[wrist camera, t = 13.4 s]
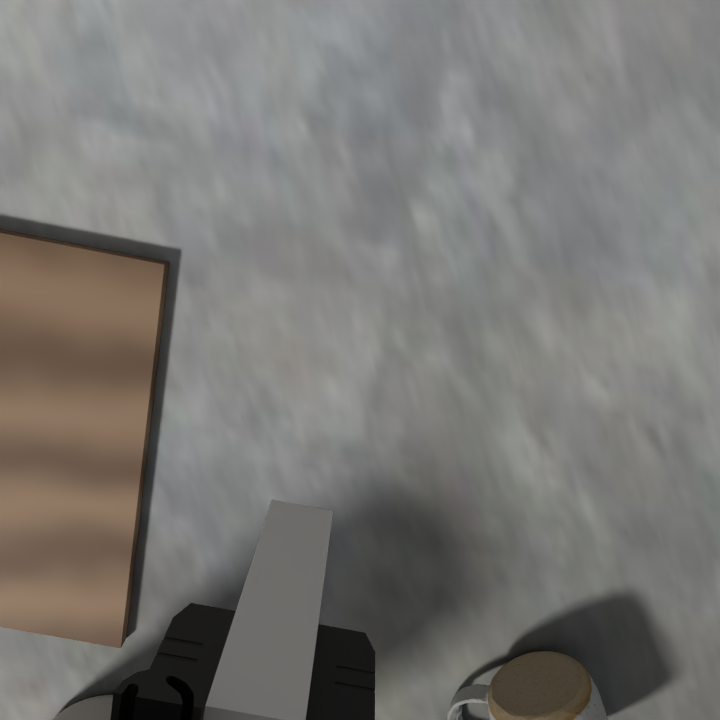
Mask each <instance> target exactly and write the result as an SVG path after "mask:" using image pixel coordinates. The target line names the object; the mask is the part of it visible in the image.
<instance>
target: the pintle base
mask: <svg viewBox="0 0 720 720" xmlns="http://www.w3.org/2000/svg"><path fill="white" fill-rule="evenodd" d="M168 271H169V262H165V261H160V260H154V259H149V258H144V257H139V256H134V255H129V254H124V253H118V252H113V251H108V250H103V249H98V248H93V247H87V246H82V245H77V244H72V243H67V242H62V241H56V240H51V239H46V238H41V237H36V236H31V235H25V234H20V233H15V232H10V231H5V230H0V627H6V628H11V629H17V630H22V631H28V632H34V633H39V634H45V635H50V636H56V637H61V638H67V639H73V640H78V641H84V642H89V643H95V644H101V645H106V646H112V647H117V648H121V647H122V645H123V643H124V641H125V639H126V633H127V625H128V616H129V608H130V599H131V590H132V582H133V573H134V564H135V556H136V547H137V538H138V530H139V521H140V513H141V504H142V495H143V487H144V478H145V469H146V461H147V452H148V443H149V435H150V426H151V417H152V409H153V400H154V392H155V383H156V374H157V366H158V357H159V348H160V340H161V331H162V322H163V314H164V305H165V297H166V288H167V279H168Z"/></svg>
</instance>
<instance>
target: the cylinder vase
mask: <svg viewBox="0 0 720 720" xmlns="http://www.w3.org/2000/svg"><path fill="white" fill-rule="evenodd" d="M112 701H113V695H102V696H96V697H91V698H88V699H85V700H82V701H79V702H77V703H75V704H73V705H71V706H69V707H68V708H66V709H64V710H63V711H62V712H60V713H59V714H58V715H57V716H56V717H55V718H54V719H53V720H110V718H111V710H112Z"/></svg>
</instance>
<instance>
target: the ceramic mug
mask: <svg viewBox="0 0 720 720" xmlns="http://www.w3.org/2000/svg"><path fill="white" fill-rule="evenodd" d="M475 702H476V703H486V704H488V708H489V716H490V720H608V718H607V715H606V712H605V709H604V705H603V702H602V699H601V697H600V694H599V691H598V689H597V687H596V685H595V683H594V681H593V680H592V678H591V676H590V674H589V673H588V671H587V670H586V669H585V668H584V666H583V665H582V664H581V663H579V662H578V661H577V660H575V659H574V658H572V657H570V656H568V655H565V654H563V653H558V652H552V651H539V652H531V653H526V654H524V655H521V656H519V657H516V658H514V659H513V660H511V661H509V662H508V663H506V664H505V665H504V666H503V667H502V668H501V669H500V670H499V671H498V672H497V673H496V675H495V676H494V677H493V679H492V681H491V684H490V685H481V684H476V685H472V686H467V687H464V688H462V689H460V690H459V691H458V692H457V693H456V694H455V696H454V697H453V700H452V703H451V705H450V708H449V710H448V713H447V714H448V717H447V720H463V717H462V709H463V707H462V705H463V704H465V703H475Z"/></svg>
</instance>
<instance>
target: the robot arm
mask: <svg viewBox="0 0 720 720" xmlns="http://www.w3.org/2000/svg"><path fill="white" fill-rule="evenodd" d="M332 517H333V511H330V510H325V509H319V508H314V507H309V506H303V505H298V504H293V503H287V502H282V501H276V500H271V504H270V507H269V510H268V513H267V516H266V519H265V522H264V525H263V528H262V531H261V535H260V538H259V541H258V544H257V547H256V550H255V553H254V556H253V559H252V563H251V566H250V569H249V572H248V575H247V578H246V581H245V584H244V587H243V590H242V594H241V597H240V600H239V603H238V606H237V609H236V611H232V610H226V609H221V608H215V607H210V606H204V605H199V604H193V603H191V604H189V605H188V606H187V607H186V608H184V609H183V610H182V611H181V612H179V613H178V614H177V615H176V616H175V617H173V619H172V621H171V624H170V626H169V628H168V630H167V632H166V635H165V637H164V640H163V641H162V643H161V645H160V648H159V650H158V652H157V656H155V659H154V661H153V663H152V665H151V667H150V670H146V671H142V672H137V673H135V674H134V675H132V676H130V677H129V678H127V679H125V680H124V681H122V683H121V684H120V685H119V686H118V688H117V689H116V690H115V691H114V693H113V701H112V710H111V718H110V720H375V693H374V691H375V651H374V649H373V647H372V645H371V643H370V641H369V639H368V637H367V635H366V634H365V633H363V632H358V631H352V630H347V629H341V628H336V627H330V626H325V625H319V624H318V623H319V615H320V608H321V600H322V593H323V585H324V578H325V570H326V563H327V555H328V547H329V540H330V532H331V525H332Z"/></svg>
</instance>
